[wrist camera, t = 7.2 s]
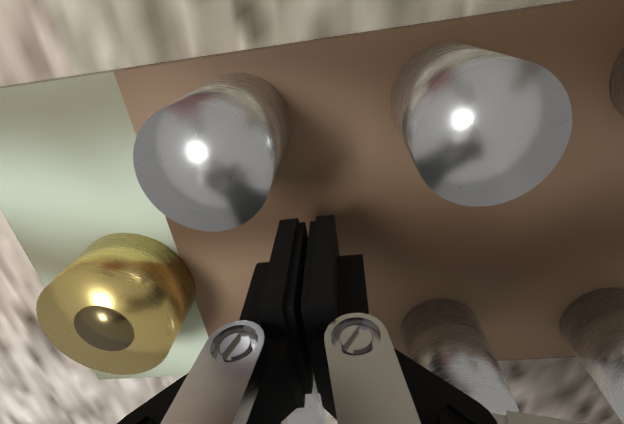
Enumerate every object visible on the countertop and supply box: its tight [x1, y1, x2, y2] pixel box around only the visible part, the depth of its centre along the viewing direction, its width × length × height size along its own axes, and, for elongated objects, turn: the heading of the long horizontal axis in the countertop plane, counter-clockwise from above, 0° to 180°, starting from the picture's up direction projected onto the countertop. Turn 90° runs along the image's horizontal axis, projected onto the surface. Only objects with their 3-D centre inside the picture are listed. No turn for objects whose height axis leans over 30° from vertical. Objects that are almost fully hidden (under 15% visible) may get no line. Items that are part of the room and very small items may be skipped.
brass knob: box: [36, 233, 196, 375], centre depth 14 cm, size 4×4×2 cm
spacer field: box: [133, 42, 624, 424], centre depth 11 cm, size 12×15×4 cm
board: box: [0, 0, 624, 379], centre depth 14 cm, size 13×26×1 cm, turn 98°
